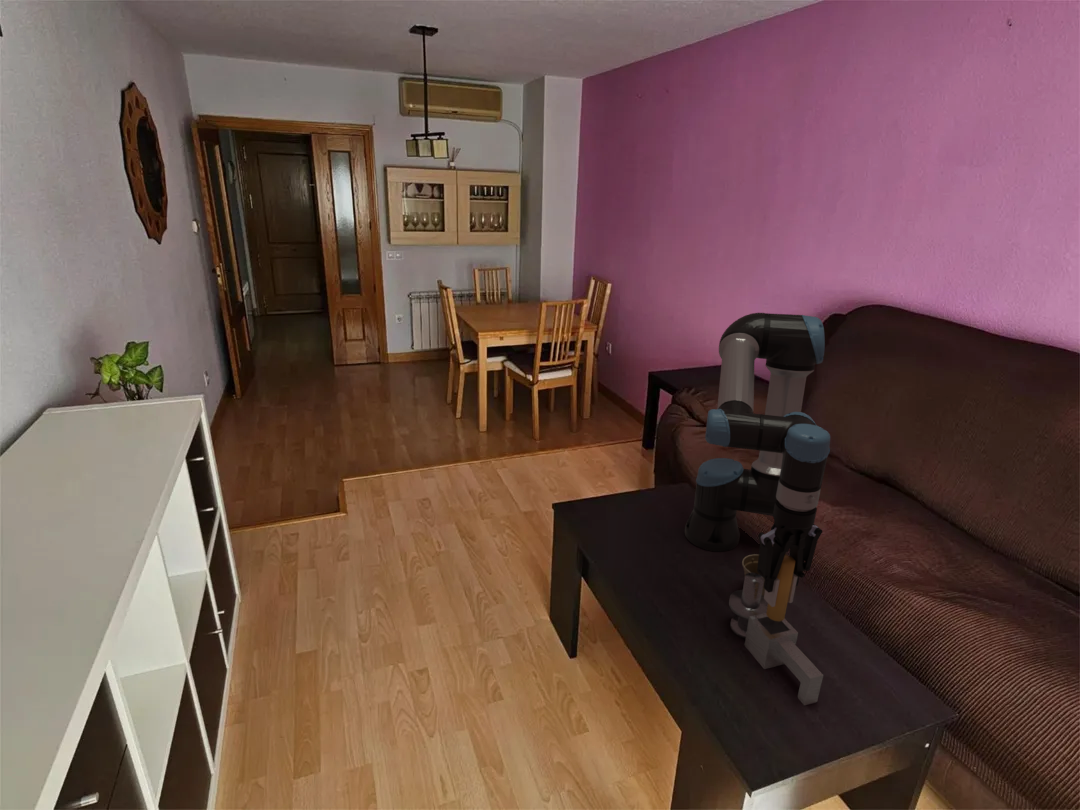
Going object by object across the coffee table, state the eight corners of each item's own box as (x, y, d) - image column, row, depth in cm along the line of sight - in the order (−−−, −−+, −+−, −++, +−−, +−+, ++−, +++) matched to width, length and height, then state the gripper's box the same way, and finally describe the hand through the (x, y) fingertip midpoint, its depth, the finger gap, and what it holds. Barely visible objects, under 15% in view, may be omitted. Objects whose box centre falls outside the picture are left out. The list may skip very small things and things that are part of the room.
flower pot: (744, 577, 152) (749, 549, 148) (782, 591, 147) (787, 562, 143) (732, 597, 144) (737, 568, 141) (771, 612, 139) (777, 583, 136)
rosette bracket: (829, 698, 117) (843, 643, 111) (791, 709, 114) (803, 653, 109) (751, 611, 140) (759, 562, 135) (718, 618, 138) (725, 569, 132)
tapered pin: (762, 613, 124) (772, 557, 119) (773, 607, 126) (783, 552, 121) (777, 623, 121) (787, 567, 116) (788, 617, 123) (799, 561, 118)
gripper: (771, 519, 108) (754, 620, 117) (845, 506, 112) (824, 604, 121) (747, 499, 115) (732, 596, 123) (818, 487, 119) (799, 582, 128)
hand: (778, 600), depth 122 cm, fingers closed on tapered pin, 3 cm apart
